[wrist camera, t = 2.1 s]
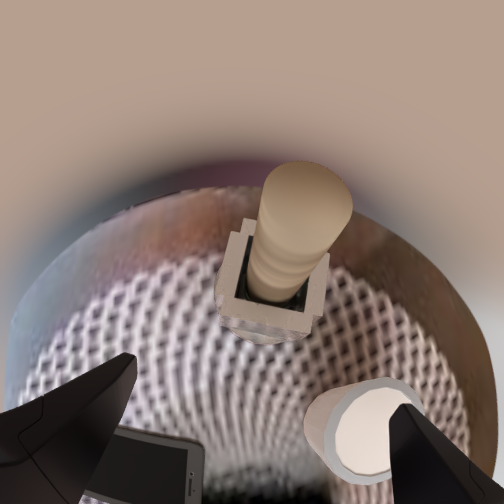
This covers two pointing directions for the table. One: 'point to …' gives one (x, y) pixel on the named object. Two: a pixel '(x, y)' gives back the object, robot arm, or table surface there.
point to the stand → (259, 315)
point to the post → (294, 229)
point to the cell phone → (148, 470)
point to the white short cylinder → (357, 427)
